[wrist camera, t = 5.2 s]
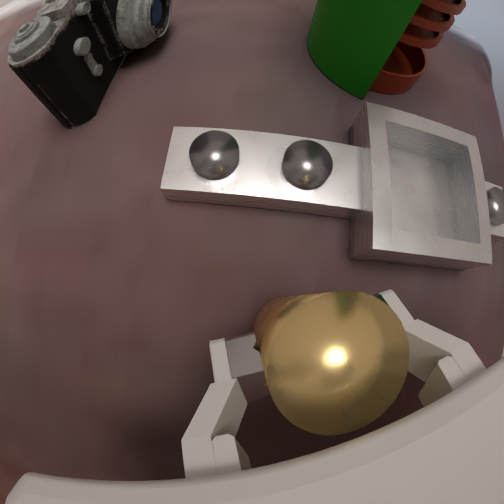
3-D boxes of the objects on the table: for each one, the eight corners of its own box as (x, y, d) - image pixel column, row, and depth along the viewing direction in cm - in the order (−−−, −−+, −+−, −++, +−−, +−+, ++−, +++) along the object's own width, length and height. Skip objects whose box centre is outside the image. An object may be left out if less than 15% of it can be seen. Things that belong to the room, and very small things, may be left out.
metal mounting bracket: (162, 239, 16) (143, 225, 13) (187, 112, 17) (178, 80, 14) (492, 273, 16) (523, 268, 13) (482, 167, 17) (508, 151, 14)
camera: (131, 129, 17) (64, 13, 7) (52, 130, 17) (-26, 48, 7) (193, 0, 19) (181, -89, 9) (125, 5, 19) (100, -72, 9)
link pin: (250, 360, 15) (259, 434, 6) (256, 293, 15) (275, 284, 7) (316, 364, 15) (396, 429, 6) (323, 298, 15) (415, 295, 7)
